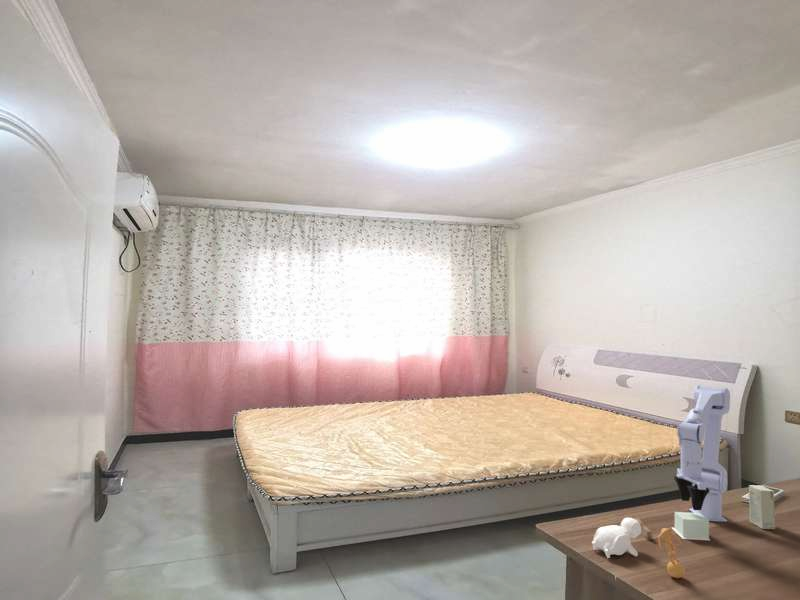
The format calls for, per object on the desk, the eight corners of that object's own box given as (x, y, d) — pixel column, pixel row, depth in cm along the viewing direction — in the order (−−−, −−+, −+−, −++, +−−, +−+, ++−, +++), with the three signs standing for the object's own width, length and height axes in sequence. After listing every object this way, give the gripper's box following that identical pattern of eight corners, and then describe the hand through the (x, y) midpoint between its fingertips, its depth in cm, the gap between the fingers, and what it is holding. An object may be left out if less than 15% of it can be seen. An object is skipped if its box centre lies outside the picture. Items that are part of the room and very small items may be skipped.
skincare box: (775, 529, 161) (775, 491, 162) (761, 529, 161) (761, 491, 162) (761, 521, 168) (761, 484, 168) (748, 521, 168) (748, 484, 168)
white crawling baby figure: (616, 572, 139) (653, 544, 144) (607, 545, 138) (645, 517, 144) (593, 557, 147) (630, 531, 152) (585, 532, 146) (622, 507, 151)
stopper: (632, 523, 165) (632, 516, 165) (636, 523, 164) (636, 516, 165) (647, 539, 153) (647, 531, 153) (651, 540, 153) (651, 532, 153)
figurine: (672, 584, 127) (672, 536, 128) (651, 573, 133) (651, 527, 133) (693, 577, 131) (693, 530, 131) (672, 566, 136) (672, 522, 137)
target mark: (671, 527, 162) (671, 527, 162) (697, 529, 161) (697, 528, 161) (682, 539, 154) (682, 538, 154) (710, 540, 153) (710, 539, 153)
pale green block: (674, 529, 160) (674, 511, 161) (699, 530, 160) (699, 513, 160) (683, 537, 155) (683, 519, 155) (708, 538, 154) (708, 520, 154)
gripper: (667, 454, 165) (667, 495, 165) (688, 467, 151) (688, 513, 151) (689, 455, 165) (690, 496, 164) (713, 468, 150) (713, 514, 150)
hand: (691, 505), depth 157 cm, fingers open, 7 cm apart
